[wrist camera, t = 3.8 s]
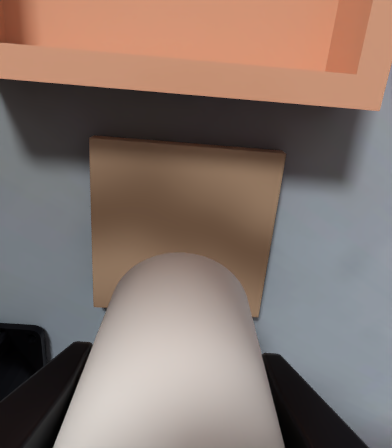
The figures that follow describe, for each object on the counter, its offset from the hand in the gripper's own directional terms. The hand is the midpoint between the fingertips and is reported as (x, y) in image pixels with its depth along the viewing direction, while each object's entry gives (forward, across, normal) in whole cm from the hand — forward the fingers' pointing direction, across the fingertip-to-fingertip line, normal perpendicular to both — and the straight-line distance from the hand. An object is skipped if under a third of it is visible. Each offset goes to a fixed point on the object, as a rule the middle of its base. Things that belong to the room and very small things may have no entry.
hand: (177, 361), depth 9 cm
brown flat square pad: (+9, 0, 0) cm, 9 cm away
